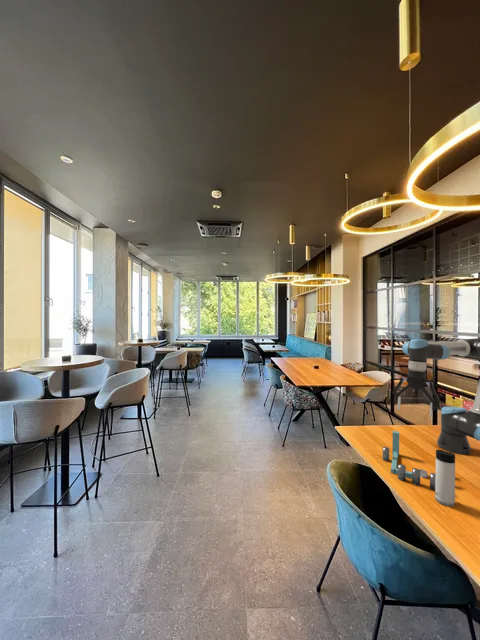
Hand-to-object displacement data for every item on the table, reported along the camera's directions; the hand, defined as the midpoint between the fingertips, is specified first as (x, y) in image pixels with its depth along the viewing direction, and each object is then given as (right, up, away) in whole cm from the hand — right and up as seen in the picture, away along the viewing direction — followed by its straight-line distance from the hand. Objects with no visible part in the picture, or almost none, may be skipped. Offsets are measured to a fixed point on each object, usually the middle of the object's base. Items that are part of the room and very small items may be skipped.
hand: (414, 412), depth 137 cm
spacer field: (-6, -26, -7) cm, 28 cm away
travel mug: (-5, -26, -27) cm, 38 cm away
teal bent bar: (-5, -26, +1) cm, 27 cm away
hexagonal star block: (-1, -26, -8) cm, 28 cm away
